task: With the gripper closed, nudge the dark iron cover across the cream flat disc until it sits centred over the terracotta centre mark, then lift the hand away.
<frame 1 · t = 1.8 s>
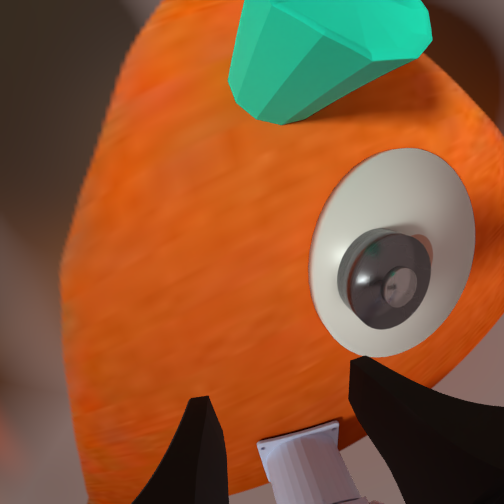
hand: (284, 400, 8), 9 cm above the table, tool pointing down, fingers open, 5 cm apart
candle: (276, 81, 15), on the table
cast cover: (376, 272, 17), point 1 cm above the table, touching cream flat disc
cream flat disc: (409, 259, 18), point 1 cm above the table, hinge at 0.0°, touching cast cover
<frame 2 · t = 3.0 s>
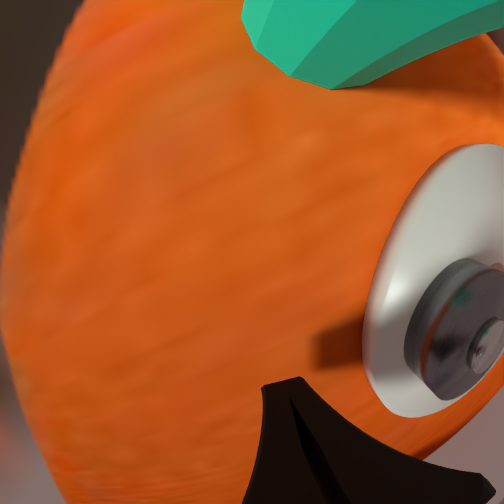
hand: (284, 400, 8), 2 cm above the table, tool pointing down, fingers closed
candle: (318, 26, 8), on the table
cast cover: (450, 319, 10), point 1 cm above the table, touching cream flat disc
cream flat disc: (481, 294, 11), point 1 cm above the table, hinge at 0.0°, touching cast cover
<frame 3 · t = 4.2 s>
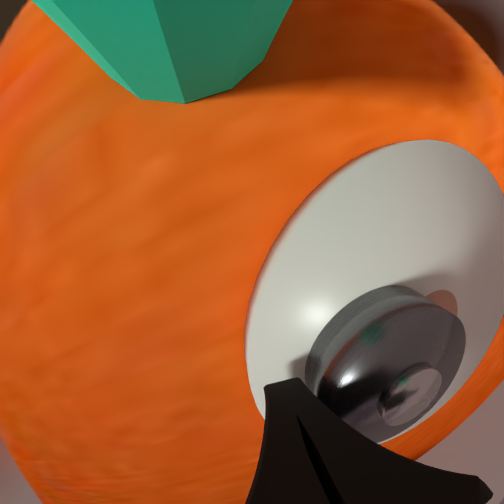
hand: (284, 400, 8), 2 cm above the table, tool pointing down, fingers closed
candle: (185, 33, 7), on the table
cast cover: (374, 355, 10), point 1 cm above the table, touching gripper, cream flat disc
cream flat disc: (421, 325, 11), point 1 cm above the table, hinge at 0.0°, touching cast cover
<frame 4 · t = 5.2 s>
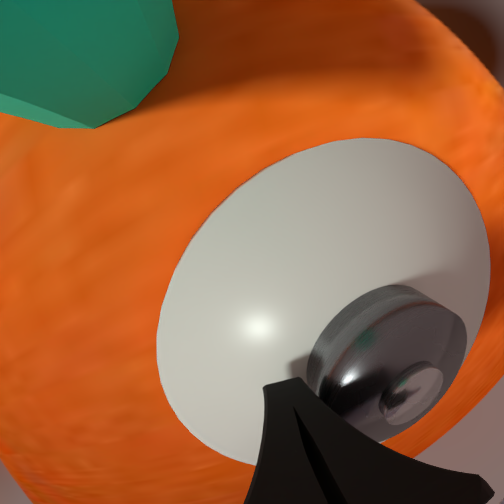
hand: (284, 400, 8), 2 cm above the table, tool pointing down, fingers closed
candle: (100, 56, 7), on the table
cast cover: (376, 354, 10), point 1 cm above the table, touching gripper, cream flat disc
cream flat disc: (364, 348, 10), point 1 cm above the table, hinge at 0.0°, touching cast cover
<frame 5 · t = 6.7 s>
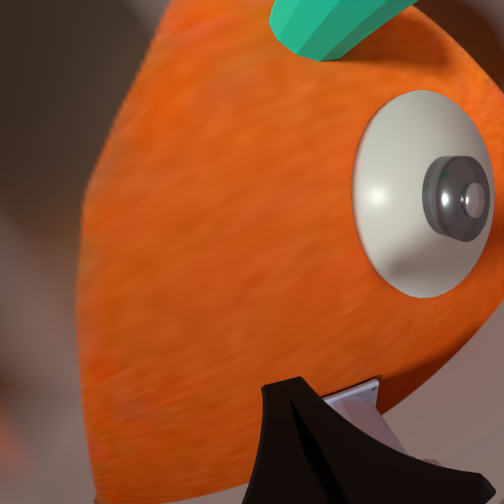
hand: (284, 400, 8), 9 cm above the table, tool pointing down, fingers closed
candle: (311, 27, 14), on the table
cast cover: (447, 195, 16), point 1 cm above the table, touching cream flat disc
cream flat disc: (440, 195, 17), point 1 cm above the table, hinge at 0.0°, touching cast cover
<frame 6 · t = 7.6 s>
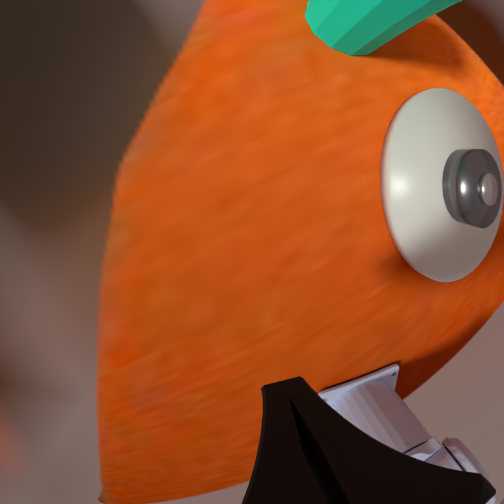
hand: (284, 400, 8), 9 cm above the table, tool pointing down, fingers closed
candle: (342, 24, 14), on the table
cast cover: (463, 186, 17), point 1 cm above the table, touching cream flat disc
cream flat disc: (457, 185, 17), point 1 cm above the table, hinge at 0.0°, touching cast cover
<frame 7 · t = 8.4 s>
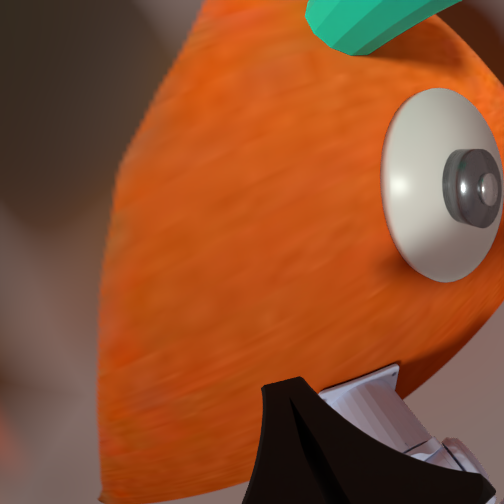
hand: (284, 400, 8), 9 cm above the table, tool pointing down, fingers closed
candle: (342, 24, 14), on the table
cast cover: (463, 186, 17), point 1 cm above the table, touching cream flat disc
cream flat disc: (457, 185, 17), point 1 cm above the table, hinge at 0.0°, touching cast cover
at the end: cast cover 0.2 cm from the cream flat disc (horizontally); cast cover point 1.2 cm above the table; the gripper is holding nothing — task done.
